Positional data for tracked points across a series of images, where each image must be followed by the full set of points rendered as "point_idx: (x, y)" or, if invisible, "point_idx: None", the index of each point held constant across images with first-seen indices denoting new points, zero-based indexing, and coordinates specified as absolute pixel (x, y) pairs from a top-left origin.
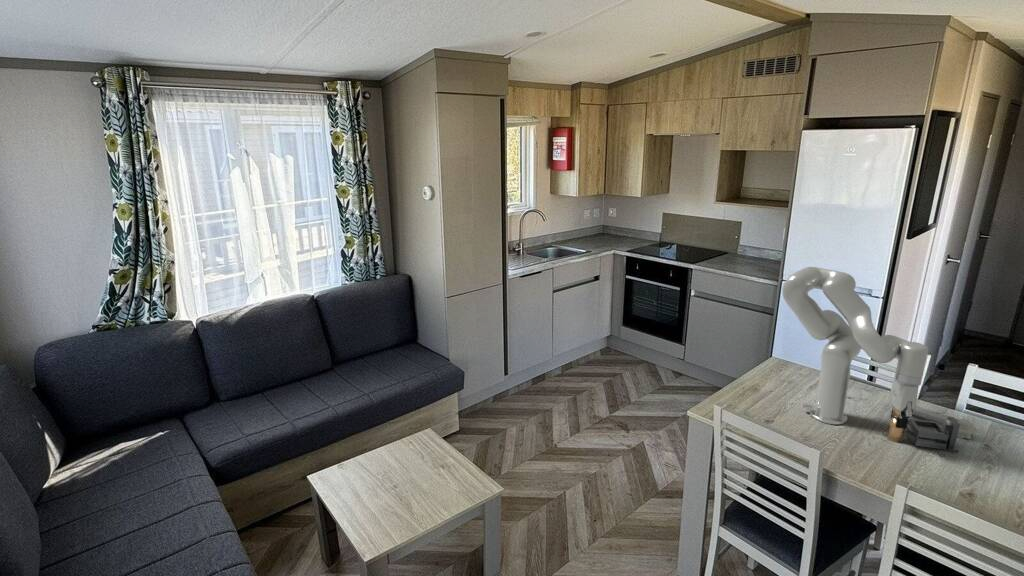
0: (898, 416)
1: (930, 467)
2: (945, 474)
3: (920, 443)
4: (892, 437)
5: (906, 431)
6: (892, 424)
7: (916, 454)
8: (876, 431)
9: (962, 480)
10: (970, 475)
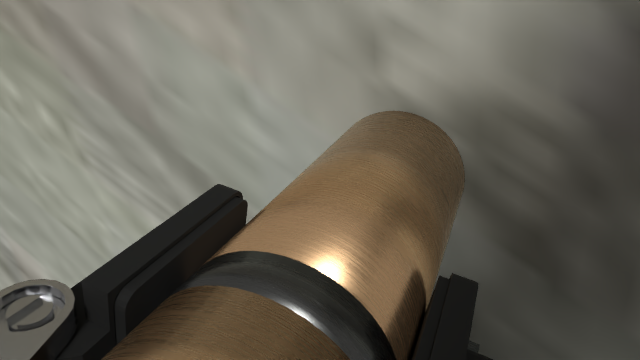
0: (142, 325)
1: (58, 165)
2: (21, 199)
3: None
4: (347, 133)
5: (472, 348)
6: (308, 191)
7: (181, 185)
8: (580, 68)
9: (3, 241)
10: None
